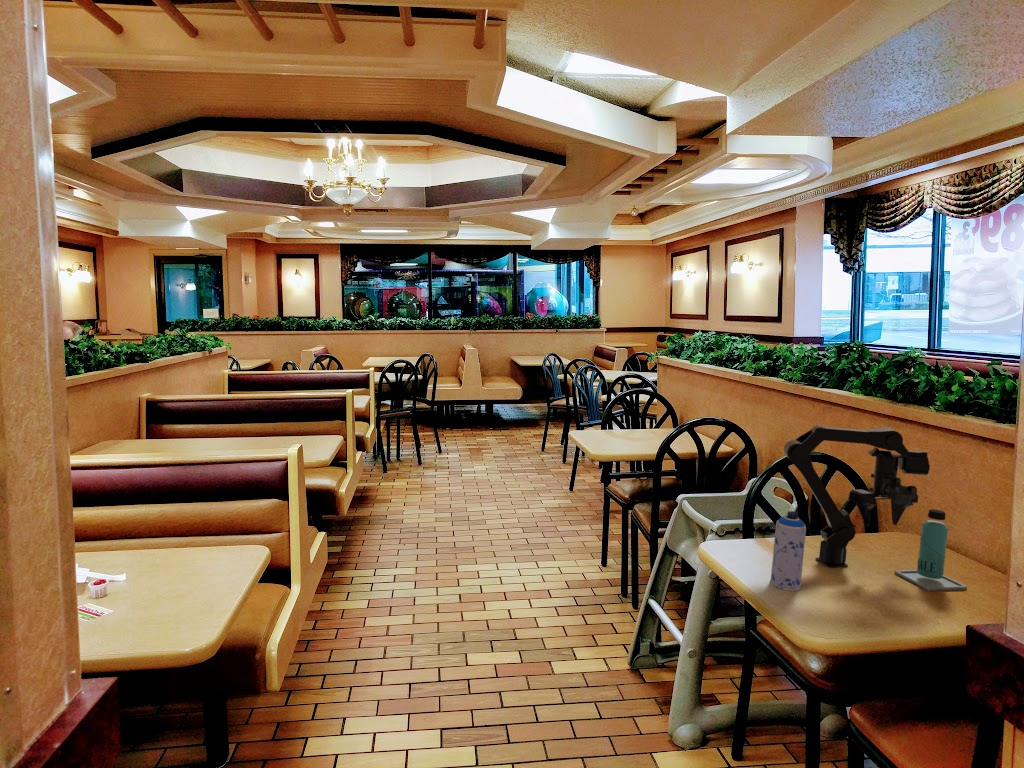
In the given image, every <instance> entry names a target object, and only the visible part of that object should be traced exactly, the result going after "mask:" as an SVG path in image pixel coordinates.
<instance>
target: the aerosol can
mask: <svg viewBox="0 0 1024 768" xmlns="http://www.w3.org/2000/svg"><path fill="white" fill-rule="evenodd" d="M806 526H807V525H806V524H805V523H804V521H803V520H802V519H800V518H799V517H798V515H797V511H792V510H791V511H787V515H784V516H781V517H779V519H778V520H776V522H775V530H774V542H773V552H772V553H773V554H772V563H771V564H772V565H771V575H770V580H769V584H770V585H772V586H773V587H775V588H777V589H780V590H784V591H791V592H796V591H799V590H801V589H802V584H801V583H802V575H803V573H802V572H803V565H804V564H803V562H804V552H805V544H806V543H805V542H806V534H807V527H806Z"/></svg>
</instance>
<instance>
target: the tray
mask: <svg viewBox="0 0 1024 768" xmlns="http://www.w3.org/2000/svg"><path fill="white" fill-rule="evenodd" d="M894 574H895V575H896V576H898V577H901V578H902V579H904V580H906V581H908V582H910V583H912V584H913V585H916V586H917V587H920V588H921V589H922V590H924V591H927V592H940V591H941V592H944V591H966V590H968V586H967V585H965V584H963V583H961V582H959V581H957V580H955V579H953V578H950V577H949V576H946V575H944V574H943V577H942V578H941V579H932V578H927V577H924V576H922V575H920V574H918V572H917V569H910V570H909V569H905V570H904V569H903V570H895V571H894Z"/></svg>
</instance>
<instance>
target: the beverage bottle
mask: <svg viewBox="0 0 1024 768" xmlns="http://www.w3.org/2000/svg"><path fill="white" fill-rule="evenodd" d="M927 518H930V519H932V520H929V519H928V520H925V522H923V523H922V524H921V525H922V529H921V532H920V533H921V534H920V538H919V539H920V540H919V541H920V542H919V550H918V559H917V565H916V566H917V567H916V570H917V572H918V574H920V575H922V576H924V577H927V578H932V579H941V578H942V577H943V575H944V573H945V570H944V569H945V563H946V552H947V551H946V550H947V549H946V548H947V542H948V533H949V530H950V529H949V527H948V526H947V525H946V524H945V523H944V522H942V521H945V520H946V512H945V511H943V510H941V509H934V508H932V509H930V508H929V510H928V514H927Z"/></svg>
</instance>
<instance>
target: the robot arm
mask: <svg viewBox="0 0 1024 768" xmlns="http://www.w3.org/2000/svg"><path fill="white" fill-rule="evenodd" d="M823 441H827V442H838V443H852V444H860V445H862V444H863V445H868V446H871V447H873V449H871V450H869V451H868V452H867V454H868V455H870V456H872V457H875V462H874V463H875V464H874V473H870V477H871V478H873V485H872V486H870V487H869V491H868V490H864V489H851V490H850V491H849V493H848V494H849V495H848V499H849V500H851V501H852V502H853V503H855V504H856V506H857V508H858V511H859V513H860V515H861V517H862V520H863V523H864V526H866V527H869V526H870V524H871V523H870V522H871V517H872V515H871V514H872V509H873V508H874V507H875V505H876V504H874V503H875V501H876V500H890V507H891V509H890V510H891V521H892V525H894V526H897V525H898V523H899V521H900V519H901V517H902V515H903V514H904V512H905V511H906V509H907V508H909V507H911V506H914V505H915V504H917V503H918V501H919V495H918V488H917V487H916V486H915V485H908V486H906V485H902V484H901V482H902V480H901V477H899V476H898V470H899V471H902V473H903V474H904V475H905V474H906V475H914V476H916V475H918V476H927V475H928V474H929V473H930V469H931V468H930V467H931V465H930V461H929V457H928V452H927V451H925V450H908V449H907V447H906V446H905V445H904V443H903V442H904V438H903V436H902V434H901V433H900V432H898V431H896V430H894V429H892V428H890V427H878V428H877V427H876V428H869V429H856V428H844V427H831V426H822V425H815V426H813V427H812V428H811V429H809V430H808V431H806V432H805V433H803V434H801V435H800V436H798V437H797V438H795V439H791V440H789V441H787V442H785V444H784V446H783V454H784V455H785V456H786V457H787V458H788V459H789V461H790V462H791V463H792V465H794V466H795V467H796V469H797V470H798V471H799V472H800V474H801V476H802V477H803V480H805V482H806V484H807V485H808V487H809V488H810V490H811V492H812V493H813V496H814V497H815V499H816V501H817V502H818V504H819V506H820V507H821V509H822V511H823V513H824V515H825V516H824V517H825V520H826V522H827V526H825V527H824V528H823V529H821V530H820V535H821V538H822V539H823V540H821V541H820V543H819V544H820V545H819V546H820V547H819V556H818V557H815V560H816V561H818V562H819V563H821V564H823V565H825V566H826V567H829V568H845V567H848V566H849V564H847V563H846V560H847V551H848V550H847V546H848V544H849V543H850V542H851V541H852V540H853V539H854V538H855V536H856V534H857V531H856V529H855V528H856V527H857V526H856V524H855V523H854V522H853V521H852V519H851V515H850V514H849V513H848V512H847V511H846V510H845V509H844V508H842V509H841V510H839V508H838V507H837V505H836V504H835V502H834V500H833V498H832V497H831V495H830V493H829V492H828V490H827V488H826V487H825V485H824V483H823V482H822V480H821V478H820V477H819V475H818V473H817V471H816V470H815V468H814V465H813V461H812V459H811V456H810V453H812V452H813V451H815V450H816V449H817V448H818V447H819V445H821V443H823ZM880 449H882V450H880ZM892 452H895V454H894V453H892ZM896 453H897V454H896Z"/></svg>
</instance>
